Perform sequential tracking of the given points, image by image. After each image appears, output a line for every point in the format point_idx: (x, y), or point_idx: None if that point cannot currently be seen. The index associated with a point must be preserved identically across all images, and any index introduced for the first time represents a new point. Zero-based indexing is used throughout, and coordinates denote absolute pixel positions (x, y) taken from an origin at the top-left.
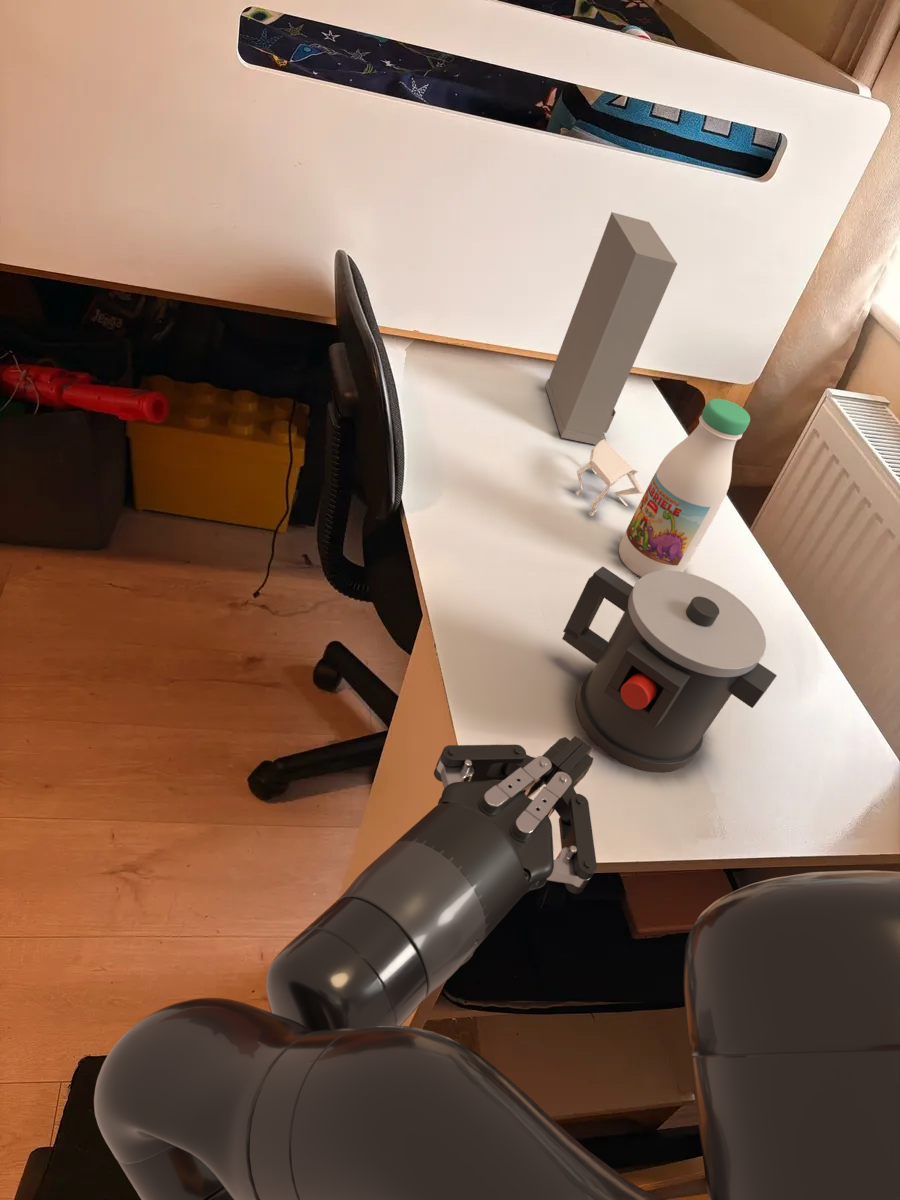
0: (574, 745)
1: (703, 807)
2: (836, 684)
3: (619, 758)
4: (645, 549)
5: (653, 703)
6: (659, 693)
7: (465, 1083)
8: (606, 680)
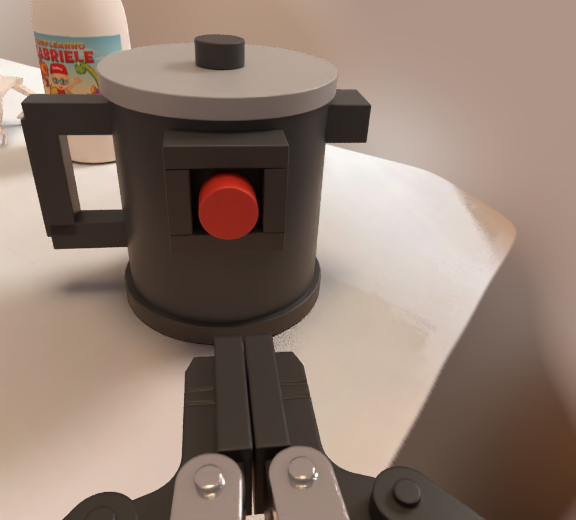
0: (234, 357)
1: (382, 314)
2: (337, 148)
3: None
4: None
5: None
6: None
7: None
8: (159, 245)
